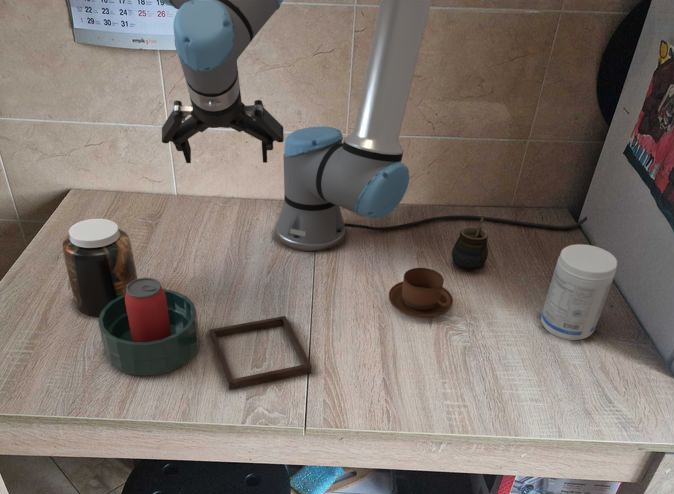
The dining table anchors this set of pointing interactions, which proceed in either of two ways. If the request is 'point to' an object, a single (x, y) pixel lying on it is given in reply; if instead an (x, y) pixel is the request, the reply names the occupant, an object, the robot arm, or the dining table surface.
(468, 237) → the mate gourd
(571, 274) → the supplement tub
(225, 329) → the brown square frame
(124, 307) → the green bowl
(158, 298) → the beer can
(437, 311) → the cup and saucer
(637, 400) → the dining table surface
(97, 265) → the jar
